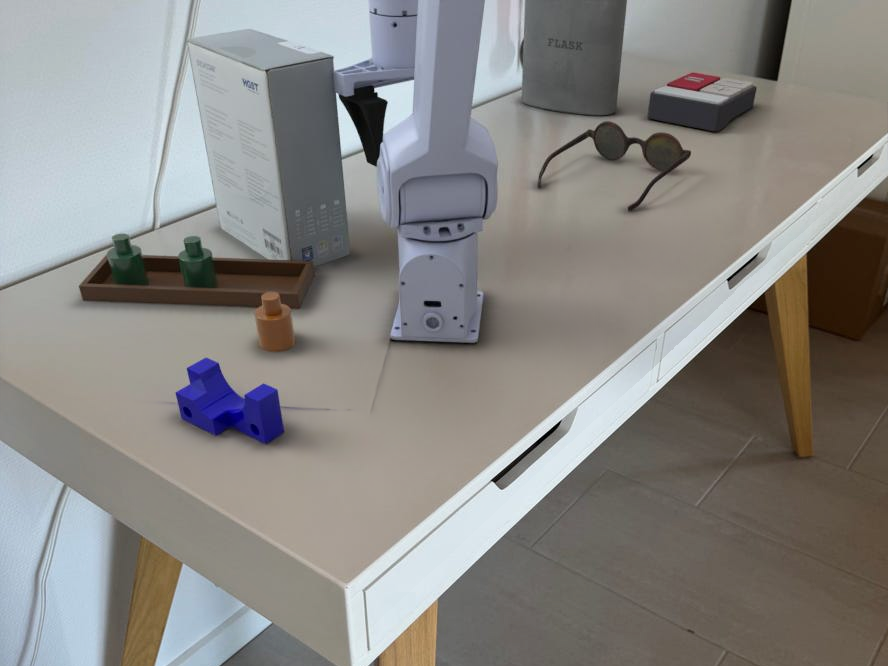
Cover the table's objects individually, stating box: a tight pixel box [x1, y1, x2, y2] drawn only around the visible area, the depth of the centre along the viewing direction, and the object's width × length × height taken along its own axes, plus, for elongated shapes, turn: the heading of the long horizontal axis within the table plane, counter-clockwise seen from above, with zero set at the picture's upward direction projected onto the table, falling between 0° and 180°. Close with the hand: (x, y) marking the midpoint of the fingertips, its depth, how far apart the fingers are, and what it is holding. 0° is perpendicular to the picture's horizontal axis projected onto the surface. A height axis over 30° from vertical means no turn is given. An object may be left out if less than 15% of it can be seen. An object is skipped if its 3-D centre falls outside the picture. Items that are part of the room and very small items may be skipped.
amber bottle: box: [254, 292, 296, 353], centre depth 80 cm, size 3×3×5 cm
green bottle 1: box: [106, 233, 149, 286], centre depth 89 cm, size 3×3×5 cm
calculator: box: [646, 72, 758, 132], centre depth 135 cm, size 11×4×15 cm
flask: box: [521, 0, 628, 117], centre depth 131 cm, size 15×6×20 cm, turn 65°
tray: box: [78, 254, 315, 310], centre depth 90 cm, size 7×21×2 cm, turn 86°
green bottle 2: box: [177, 235, 218, 288], centre depth 88 cm, size 3×3×5 cm
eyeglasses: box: [537, 120, 692, 212], centre depth 112 cm, size 15×15×5 cm
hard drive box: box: [186, 28, 351, 268], centre depth 93 cm, size 16×8×20 cm, turn 41°
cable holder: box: [174, 357, 285, 445], centre depth 71 cm, size 8×4×4 cm, turn 55°
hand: (405, 156), depth 93 cm, fingers open, 7 cm apart
